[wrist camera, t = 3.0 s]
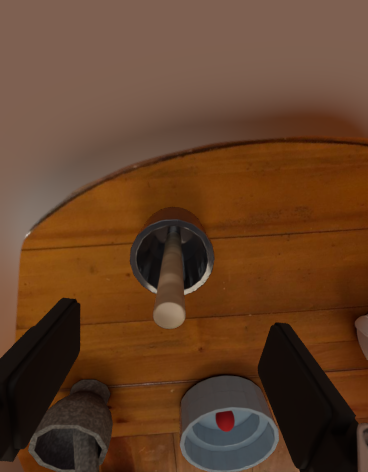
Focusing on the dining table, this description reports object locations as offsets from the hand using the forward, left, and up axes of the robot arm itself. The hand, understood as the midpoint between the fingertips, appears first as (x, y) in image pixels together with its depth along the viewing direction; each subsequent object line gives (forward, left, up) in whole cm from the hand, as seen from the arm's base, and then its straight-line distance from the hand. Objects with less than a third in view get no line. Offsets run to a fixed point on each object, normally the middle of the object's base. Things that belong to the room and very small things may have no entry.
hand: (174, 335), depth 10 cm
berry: (+12, -28, -14) cm, 33 cm away
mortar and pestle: (-9, -28, -16) cm, 34 cm away
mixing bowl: (+12, -28, -16) cm, 34 cm away
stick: (0, 0, -15) cm, 15 cm away
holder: (0, 0, -16) cm, 16 cm away
